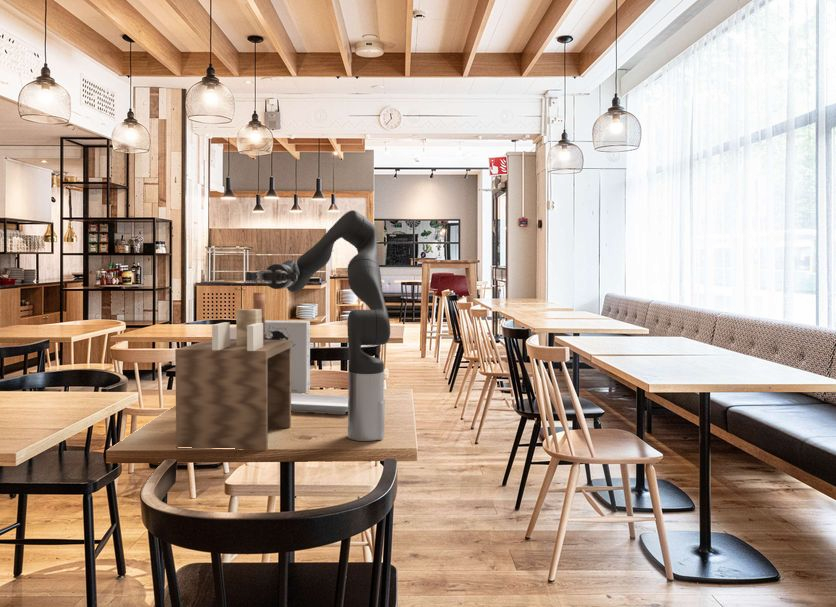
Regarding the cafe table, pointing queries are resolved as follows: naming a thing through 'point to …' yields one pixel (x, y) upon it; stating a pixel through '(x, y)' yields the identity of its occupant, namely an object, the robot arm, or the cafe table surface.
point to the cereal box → (294, 349)
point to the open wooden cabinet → (232, 394)
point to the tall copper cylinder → (250, 318)
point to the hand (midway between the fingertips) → (265, 276)
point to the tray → (319, 403)
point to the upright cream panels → (223, 336)
